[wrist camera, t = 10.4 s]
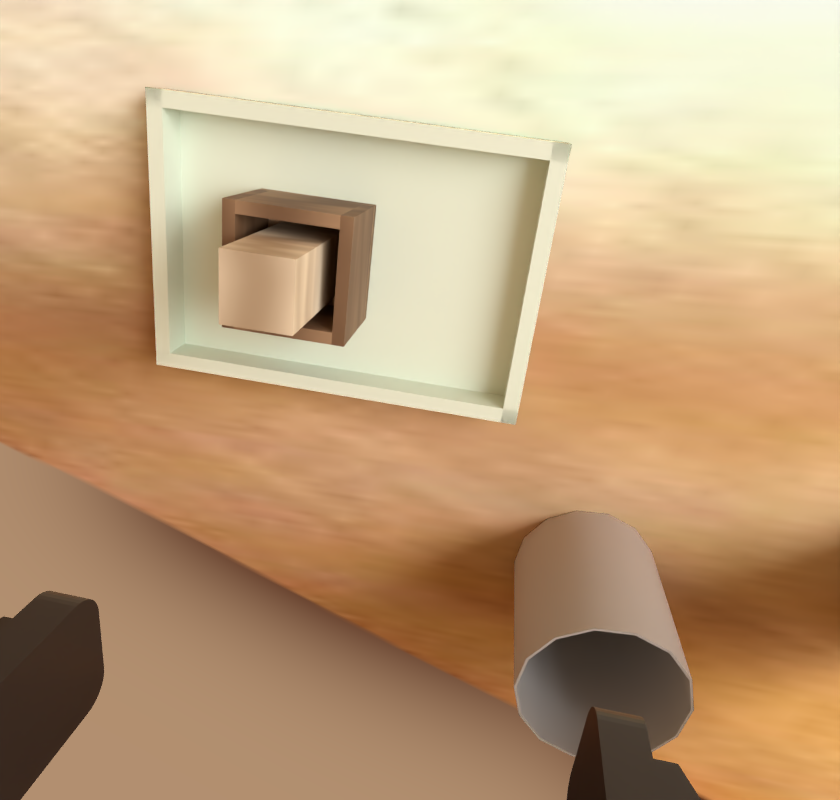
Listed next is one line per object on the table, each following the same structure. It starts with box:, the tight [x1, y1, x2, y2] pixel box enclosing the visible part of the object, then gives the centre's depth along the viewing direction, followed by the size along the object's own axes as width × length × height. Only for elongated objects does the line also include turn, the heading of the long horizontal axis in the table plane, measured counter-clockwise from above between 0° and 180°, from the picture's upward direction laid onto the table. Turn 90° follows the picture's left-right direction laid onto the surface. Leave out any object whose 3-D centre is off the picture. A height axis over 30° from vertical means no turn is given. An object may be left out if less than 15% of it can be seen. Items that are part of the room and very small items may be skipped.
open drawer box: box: [222, 188, 376, 347], centre depth 32 cm, size 6×6×5 cm
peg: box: [219, 221, 340, 336], centre depth 30 cm, size 3×3×8 cm
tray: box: [145, 87, 572, 425], centre depth 34 cm, size 20×14×2 cm
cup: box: [514, 511, 694, 757], centre depth 36 cm, size 8×8×10 cm
